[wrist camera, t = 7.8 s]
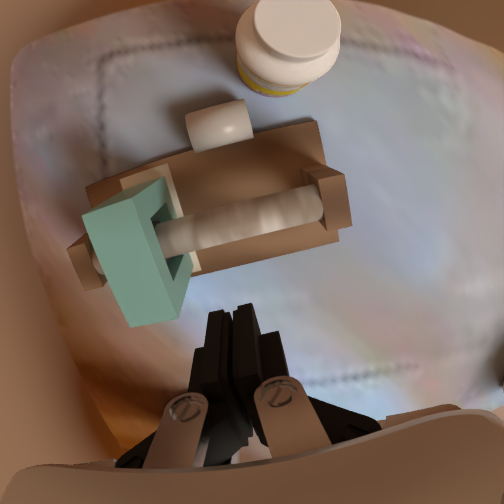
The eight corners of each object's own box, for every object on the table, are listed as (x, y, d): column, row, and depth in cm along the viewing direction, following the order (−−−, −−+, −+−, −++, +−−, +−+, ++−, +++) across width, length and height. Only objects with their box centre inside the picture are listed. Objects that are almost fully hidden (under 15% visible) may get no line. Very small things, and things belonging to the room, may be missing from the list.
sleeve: (246, 116, 27) (255, 145, 26) (194, 130, 27) (199, 160, 26) (241, 90, 23) (250, 120, 22) (183, 106, 24) (187, 137, 23)
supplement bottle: (279, 21, 22) (307, -44, 11) (323, 74, 25) (382, 40, 13) (221, 59, 24) (208, 8, 12) (266, 112, 26) (289, 98, 14)
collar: (193, 265, 30) (178, 318, 21) (156, 274, 30) (130, 327, 22) (164, 175, 26) (131, 197, 18) (125, 188, 26) (81, 215, 18)
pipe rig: (337, 239, 31) (364, 272, 24) (127, 289, 32) (103, 330, 25) (315, 120, 26) (341, 118, 19) (87, 186, 28) (47, 205, 20)
